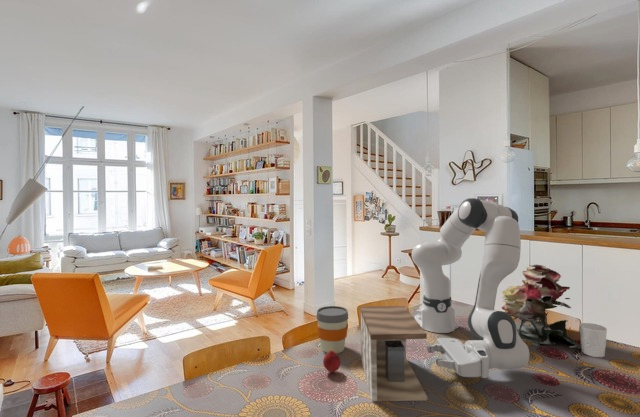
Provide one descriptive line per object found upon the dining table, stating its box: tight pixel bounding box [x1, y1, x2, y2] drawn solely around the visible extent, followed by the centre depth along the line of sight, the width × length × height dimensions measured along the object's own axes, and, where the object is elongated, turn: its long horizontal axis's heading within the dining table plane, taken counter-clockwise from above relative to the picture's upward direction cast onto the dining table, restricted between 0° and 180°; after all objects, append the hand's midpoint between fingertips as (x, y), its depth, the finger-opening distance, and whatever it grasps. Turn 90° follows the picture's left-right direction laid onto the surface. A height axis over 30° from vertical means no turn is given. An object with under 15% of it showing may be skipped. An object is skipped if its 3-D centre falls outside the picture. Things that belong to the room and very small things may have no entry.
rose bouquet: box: [501, 263, 582, 351], centre depth 145 cm, size 26×29×30 cm
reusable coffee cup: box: [316, 305, 349, 354], centre depth 135 cm, size 13×13×15 cm
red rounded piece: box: [322, 349, 341, 374], centre depth 116 cm, size 6×6×8 cm
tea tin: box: [385, 340, 405, 382], centre depth 110 cm, size 5×5×11 cm
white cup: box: [579, 322, 608, 358], centre depth 127 cm, size 8×8×10 cm
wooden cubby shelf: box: [360, 305, 428, 402], centre depth 112 cm, size 26×16×20 cm, turn 0°
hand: (431, 355), depth 110 cm, fingers open, 8 cm apart
